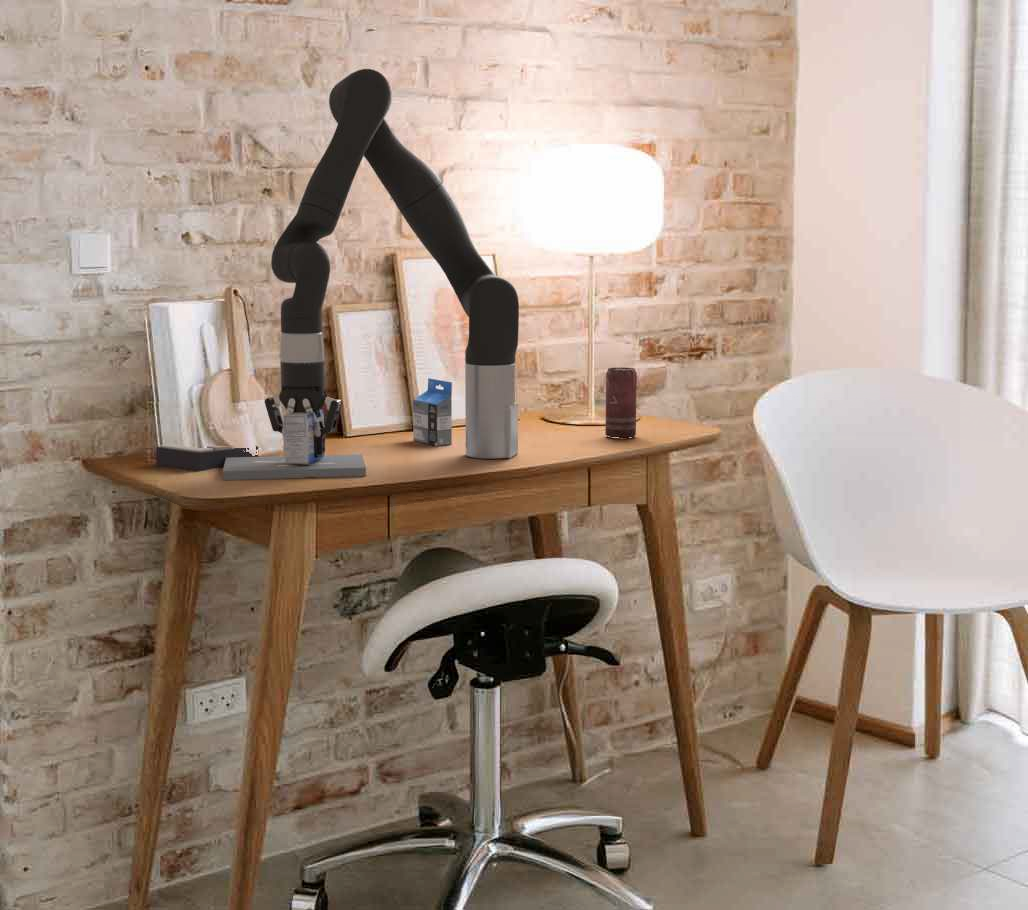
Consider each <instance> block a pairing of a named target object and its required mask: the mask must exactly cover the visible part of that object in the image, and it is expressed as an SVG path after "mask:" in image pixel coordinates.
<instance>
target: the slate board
mask: <svg viewBox="0 0 1028 910" xmlns="http://www.w3.org/2000/svg"><path fill="white" fill-rule="evenodd" d="M366 476H367V466H366V463H365V460H364V458H363V454H361V453H355V454H353V453H352V454H349V453H348V454H326V455H325V454H324V457H323V458H321V459H319V460H317V461H315V462H313V463H310V464H308V465H305V464H289V463H285V456H284V455H279V456H271V455H270V456H258V457H231V458H226V460H225V464H224V466H223V469H222V481H241V480H243V481H244V480H245V481H247V480H276V479H277V480H278V479H306V478H305V477H318V478H342V477H343V478H351V477H352V478H353V477H366Z"/></svg>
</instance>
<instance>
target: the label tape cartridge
mask: <svg viewBox="0 0 1028 910" xmlns="http://www.w3.org/2000/svg"><path fill="white" fill-rule="evenodd" d="M439 386H440V387H442V388H443V389H440V388H437V387H439ZM452 389H453V382H452V381H446V380H442V379H441V380H439V379H435V378H428V379H427V390H426V391H424V392H423V393H422V394H420V395H419V396H417V397H415V398H414V399H412V420H413V421H412V425H413V427H412V429H413V431H412V433H413V438H412V439H413V441H414V442H419V443H423V444H428V445H432V446H436V447H445V446H451V445H452V444H453V442H452V440H453V439H452V437H453V436H452V433H453V432H452V427H453V426H452V423H453V422H452V421H453V417H452V410H453V409H452V404H453V402H452V398H453V397H452V395H453V391H452Z"/></svg>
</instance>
